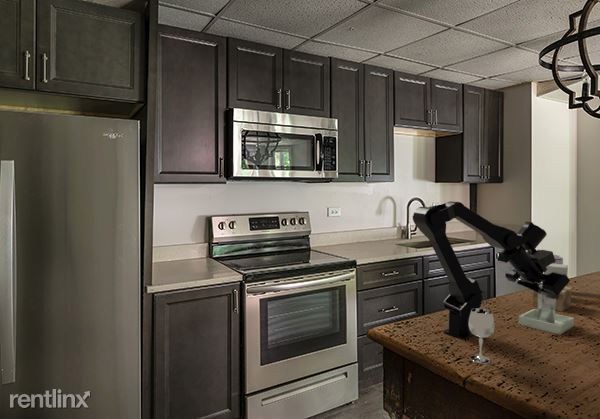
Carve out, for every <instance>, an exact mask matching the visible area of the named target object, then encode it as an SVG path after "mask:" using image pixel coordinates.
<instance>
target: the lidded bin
mask: <svg viewBox="0 0 600 419" xmlns="http://www.w3.org/2000/svg"><path fill="white" fill-rule="evenodd" d="M541 283H543V282H541ZM572 291H574V287H572V286H568V285H567V286H565V288H564V289H563V290H562V291H561V292H560V294H559V298H558V299H556V309H555V311H558V312H564V311H566V310H567V309H569V308H570V307H572V293H573V292H572ZM532 306H535V307H538V293H537V292H535V291H533V290H532Z"/></svg>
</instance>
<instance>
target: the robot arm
mask: <svg viewBox="0 0 600 419" xmlns="http://www.w3.org/2000/svg"><path fill="white" fill-rule="evenodd" d="M453 219H455V220H457V221H459V222H460V223H461V224H463V225H465V226H467V227H468V228H470V229H471V230H473V231H474V232H476V233H478V234H479V235H481V237H482V239H483V240H484V241H485V242H486V243H487V245H489V246H490V247H493V248H496V249H500V250H502V251H499V252H498V256H497V261H498V262H502V263H505V264H508V263H509V264H510V267H509V268H508V270H507V271H506V272H505V276H504V277H505V278H506V280H507V281H508V282H509V281H510V282H512V283H516V284H517V285H519V286H521V287H524V288H527V289H529V290H531V291H532V292H533V291H535V292H537V293H538V286H537V284H540V283H542V282H543V286H542V289H541V290H540V291H541V292H543V293H545V294H547V295H549V296H551V297H553V298H555V299H558V298H559V294H560V292H561V291H562V290H563V289H564V288H565V286H566V285H567V286H568V284H569V283H570V281H571V279H570V278H569V276H568V274H567V275H566V274H561V273H557V272H552V273H551V274H548V275H546V274H544V272H546V271H547V268H546V267H547V266H549V265H550V264H552V263H555V262H556V260H555V257H554V255H555V254H554V251H551V250H546V249H536V248H538V246H539V245H540V244H541V243H542V241H543V240H544V239H545V238H546V237H547V236H548V234H547V232H546V230H545V229H543V228H541V227H540V226H538V225H536V224H534V222H533V221H526V222H524V224H523V226H521V228H520V229H519V230H518V232H516V231H515V230H512V229H509V228H507V227H504V226H500V225H497V224H494V223H492V222H491V221H489V220H488V219H486V218H484V217H483V216H481V215H480V214H478V213H476V212H475V211H473V210H472V209H470V208H469V207H467V206H465V205H464V204H463V203H462V202H460V201H452V200H451V201H447V202H445V203H441V204H437V205H432V206H419V207H417V208H416V209H415V211H414V212H413V214H412V222H413V223H414V225H415V226H416V227H417V229H418V230H419V232H420V233H422V234H423V235H424V236H425V237H426V238H427V239H428V241H429V242H430V244H431V246H432V248H433V250H434V253H435V254H436V256H437V259H438V261H439V262H440V265H441V267H442V270H443V271H444V274H445V275H446V277H447V279H448V281H449V282H448V290H449V294H448V295H447V296H446V297H445V299H444V300H443V301H442V305H443V308H444V309H445V310H447V311H449V312H448V328H447V329H444V330H443V333H444V334H446V335H447V334H448V335H450V336H453V337H456V338H460V339H468V338H470V337H472V336H474V335H473V334H472V333H471V332H470V330H469V325H468V322H469V316H470V312H471V310H472V309H474V308H480V307H481V305H482V303H483V299H484V298H483V295H482V294H484V291H482V289H481V288H480V285H479V282H478V281H477V280H475V279H473V278H470V277H467V276H466V273H465V271H464V269H463V267H462V265H461V263H460V261H459V259H458V257H457V254H456V253H455V250H454V249H453V246H452V244H451V242H450V240H449V238H448V235H447V232H446V231H447V223H448V222H451V221H452V220H453Z"/></svg>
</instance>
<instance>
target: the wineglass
mask: <svg viewBox="0 0 600 419" xmlns="http://www.w3.org/2000/svg"><path fill="white" fill-rule="evenodd" d="M468 325H469V330H470V332H471V333H472V334H473V335H472V336H476V337H477V338H478V345H479V353H478V354H476V355H472V356H470V360H471V361H472V362H475V363H478V364H482V365H483V364H484V365H485V364H489V363H491V359H490V358H489V357H486V356H483V353H482V352H483V351H482V350H483V349H482V348H483V344H484V339H485V338H489V337H491V336H492V335H493V334H494V332H495V318H494V314H493V311H492V310H490V309H486V308H474V309H472V310H471V312H470V316H469V322H468Z"/></svg>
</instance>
